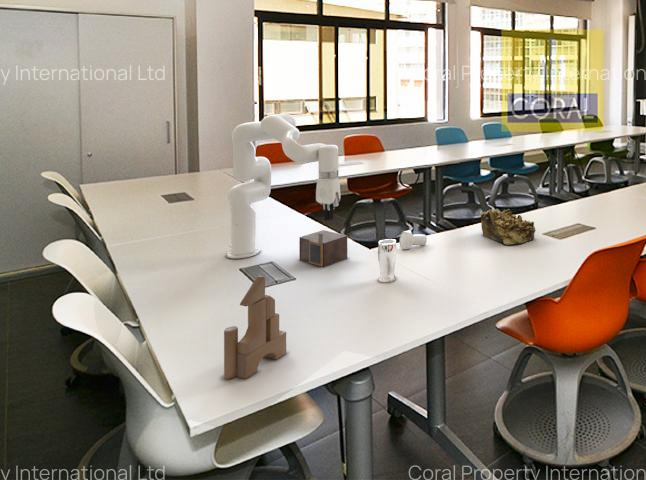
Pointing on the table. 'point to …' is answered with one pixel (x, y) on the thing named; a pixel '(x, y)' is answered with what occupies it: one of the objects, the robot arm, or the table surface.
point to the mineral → (506, 227)
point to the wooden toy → (254, 335)
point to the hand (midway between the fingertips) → (329, 219)
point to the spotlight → (411, 239)
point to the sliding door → (316, 251)
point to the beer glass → (387, 259)
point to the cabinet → (325, 247)
